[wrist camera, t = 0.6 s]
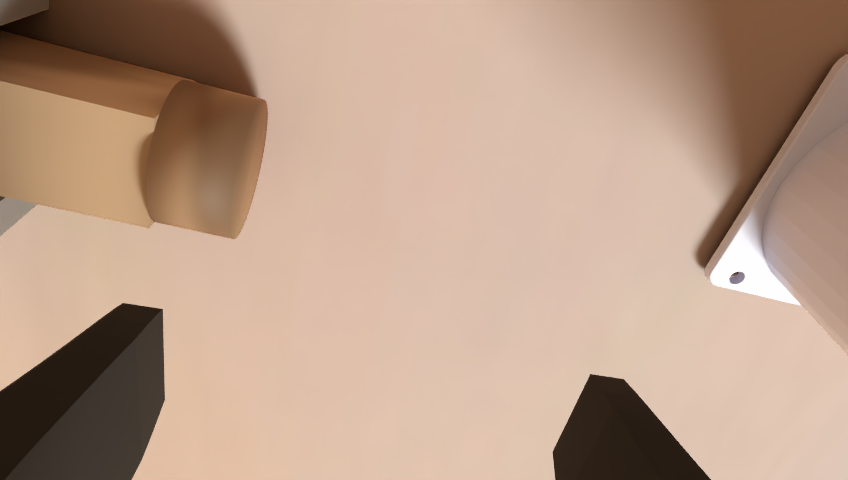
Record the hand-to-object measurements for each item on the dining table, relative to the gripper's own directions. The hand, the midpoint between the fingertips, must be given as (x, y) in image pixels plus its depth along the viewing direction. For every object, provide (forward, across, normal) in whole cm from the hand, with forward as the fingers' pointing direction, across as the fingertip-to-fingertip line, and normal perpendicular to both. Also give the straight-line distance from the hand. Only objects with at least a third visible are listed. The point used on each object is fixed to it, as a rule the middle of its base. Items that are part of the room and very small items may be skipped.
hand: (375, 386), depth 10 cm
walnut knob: (+9, +9, 0) cm, 13 cm away
